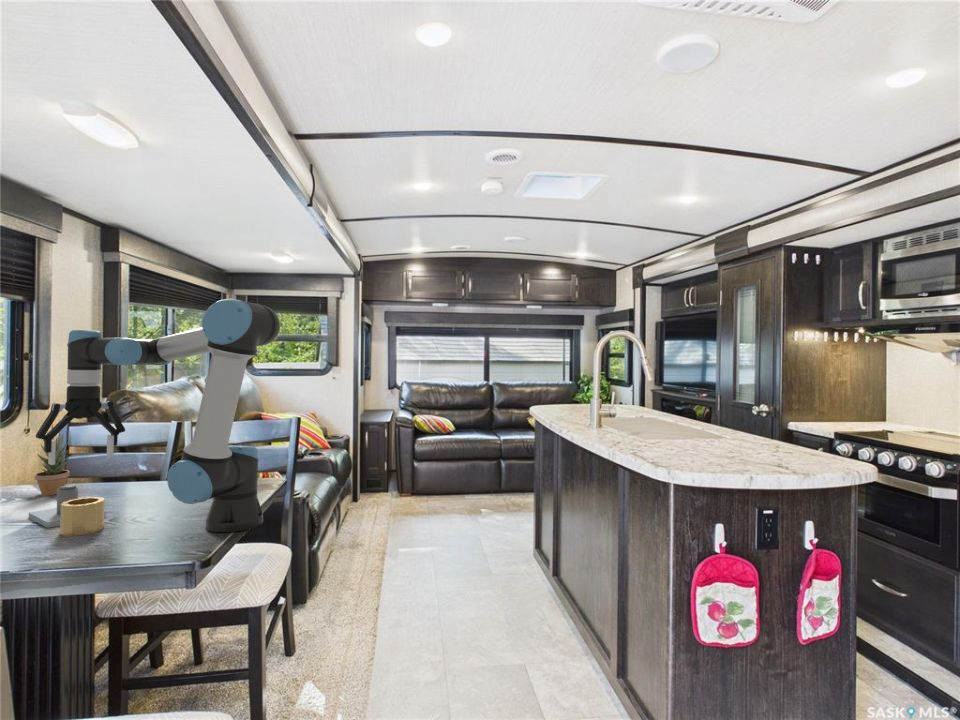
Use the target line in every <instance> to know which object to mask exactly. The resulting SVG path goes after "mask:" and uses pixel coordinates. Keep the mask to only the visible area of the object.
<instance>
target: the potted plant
mask: <svg viewBox="0 0 960 720" xmlns="http://www.w3.org/2000/svg"><path fill="white" fill-rule="evenodd" d="M53 427H54V424H53V423H52V425H51V429H52V428H53ZM55 439H56V451H55V465H50V464H48V456H49V452H48V453H46V452H45V451H44V445H43V444H40V446H41V449H42V450H43V451H44V453H45V455H46V456H47V458H45V457H43V456H41V455H40V454H39V453H37V456H38V458H39V459H40V460H41V461H42V463H41V464H42V466H43V467H44V468H45V469H44V468H42V470H43V471H41V472H38V473H35V474H34V479H35V481H36V482H37V484H38V488H39V490H40V493H41V495H42V496H54V495H53V494H56V495H57V489H59V487H61V486H66V483H67V481H68V478H69V476H70V470H68V469H65V468H64V467H65V466H66V465H67V464H68V463H69V462H70V461H71V460H72V458H70V459H69V457H70V456H67V457H66V458H65V456H66V454H68V451H69V450H68V449H67V450H66V448H67V446H68V442H66V443H65V444H64V446H63V448H62V443H63V439H64V434H62V435H61V437H60V440H59V439H58V436H57V437H56V438H55V437H54V438H53V439H52V440H55ZM42 441H43V442H44V440H43V439H42ZM61 448H62V449H61ZM64 458H65V459H64Z"/></svg>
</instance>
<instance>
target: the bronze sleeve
mask: <svg viewBox="0 0 960 720" xmlns="http://www.w3.org/2000/svg"><path fill="white" fill-rule="evenodd" d="M105 501H106V500H105V498H104V497H99V496H88V497H78V499H72V500H69V501H65V502H63V503H62V504H61V516H60V525H59V527H60V529H59V534H60V535H62V536H63V537H74V536H75V537H76V536H85V535H90V534H94V533H97V532H99V531H102V530H103V529H104V528H105V517H104V511H106V509H105V505H106V502H105Z"/></svg>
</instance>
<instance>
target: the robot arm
mask: <svg viewBox="0 0 960 720" xmlns="http://www.w3.org/2000/svg"><path fill="white" fill-rule="evenodd" d="M280 321H281V320H280V318H279V316H278V314H277V312H275V310H273V309H272V308H271V307H269V306H268V305H264V304H259V303H253V302H249V301H244V300H240V299H236V298H235V299H229V298H227V299H226V298H225V299H220V300H218V301H216V302H214V303H212V304H211V305H210V306H209V307H208V308H207V309H206V310H205V312H204V314H203V317H202V321H201V327H199V328H196V329H190V330H186V331H183V332H178V333H174V334H170V335H166V336H162V337H157V338H154V339H153V338H152V339H140V338H129V337H122V336H121V337H103V336H102V335H103V334H102V332H101V331H99V330H91V329H90V330H88V329H87V330H86V329H85V330H84V329H83V330H81V329H72V330H71V331H69V333H68V339H67V344H66V346H67V374H66V375H67V376H66V379H67V380H66V383H67V385H68V386H66V402H65V404H64V403H56V402H53V403H52V404H51V409H50V412H49V413H48V415H47V416H46V418H45V420H44V421H43V422H42V424H41V426H40V427H39V430H38V431H37V432H36V434H35V438H36V439H39V440H42V441H43V440H44V441H43V444H44V445H43V447H44V450H43V451H45V452H46V453H48V452H49V456H48V457H47V459H48V464H50V465H55V451H56V440H55V437H56V436H57V435H58V434H59V433H60V432H61V431H62V430H63V429H64V428H65V427H66V426H68V424H69V423H70V422H72V421H73V420H74V419H78V420H79V419H80V420H81V419H84V418H85V419H92V418H93V419H95V420H96V421H97V422H98V423H99V424H100V425H101V426H102V427H103V428H104V429H105V430H106V431H108V433H109V434H107V435H106V436H107V437H106V457H107V458H109V459H114V455H115V453H114V452H115V451H114V448H115V446H116V447H117V446H118V438H119V434H121V433H124V432H126V428H125V426H124V425H123V423H122V421H121V419H120V418H119V416H118V414H117V412H116V410H115V409H114V402H113V401H111V400H106V401H103V402H101V386H100V385H99V384H101V379H102V378H101V376H102V375H101V372H102V371H101V370H102V368H101V367H102V365H111V366H112V365H113V366H115V365H116V366H135V365H136V366H137V365H138V366H141V365H142V366H143V365H144V366H162V365H163V366H164V365H168V364H170V363H171V362H173V361H177V360H181V359H186V358H191V357H194V356H201V355H205V354H208V353H211V357H210V361H209V365H208V366H209V367H208V369H207V370H208V371H207V374H206V378H205V379H206V380H205V384H204V388H203V392H202V397H201V400H200V405H199V406H200V407H199V411H198V415H197V420H196V423H195V428H194V432H193V435H192V440H191V443H189V444H187V445H185V446H184V448H183V451H182V454H181V455H182V456H181V458H180V459H181V460H178V461H176V462H175V463H174V464H172V465H171V466H170V468H169V470H168V473H167V476H166V477H167V478H166V479H167V486H168V489H169V491H170V492H171V493H172V495H173V497H174V498H175V499H177V500H178V501H179V502H181V503H183V504H187V505H194V504H198V503H204V502H207V501H208V500H211V499H212V502H211V505H210V508H209V510H208V512H207V513H208V514H207V516H206V519H205V529H206V531H210V532H212V533H236V532H242V531H243V532H244V531H246V530H251V529H255V528H257V527H259V526H261V525H263V523H264V513H263V511H262V507H261V504H260V501H259V497H258V475H259V473H258V468H259V453H258V452H259V451H258V449H257V447H255V446H253V445H232V444H231V445H229V443H230V442H229V441H230V437H231V434H232V429H233V424H234V419H235V416H236V411H237V409H238V408H237V406H238V402H239V399H240V393H241V389H242V385H243V381H244V376H245V372H246V367H247V364H248V363H247V362H248V361H249V360H250V359H251V358H253V357H255V356H256V352H257V347H259V346H260V347H261V346H267V345H268V344H271V343H272V342H274V340H276V338H278V336H279V334H280V330H281V322H280ZM101 408H103V409H104V410H105V411H106V412H107V415H108V417H109V418H110V420H111V421H112V423H113V424H114V426H115V427H114V426H113V425H112V424H111V423H110V422H109V421H108V420H107V419H106V418H105V417H104V416H103V415H102V414H101V413H100V412H99V411H100V409H101ZM64 409H65V411H66V412H67V413H66V414H65V415H64V416H63V417H62V418H61V419H60V420H59V421H58V422H57V423H56V424H55V425H53V428H52V424H53V423H54V422H55V420H56V418H57V417H58V416H59V413H60V412H63V410H64ZM50 428H51V429H50ZM49 429H50V430H49ZM53 438H54V440H52V439H53ZM45 452H44V453H45ZM46 453H45V454H46Z"/></svg>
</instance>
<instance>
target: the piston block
mask: <svg viewBox="0 0 960 720" xmlns="http://www.w3.org/2000/svg"><path fill="white" fill-rule="evenodd" d="M78 498H79V486H77V485H76V484H68V485H65V486H61V487H59V489H57V494H56V507H53V508H47V509H41V510H35V511H29V512H28V518H29V519H30V520H32V521H34V522H36V523H38V524H40V525H42V526H43V527H45V528H47V529H48V528H49V529H50V528H53V527H58V526H59V527H60V516H61V504H62V503H63V502H65V501H69V500H72V499H78ZM105 517H106V510H104V518H105Z"/></svg>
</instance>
